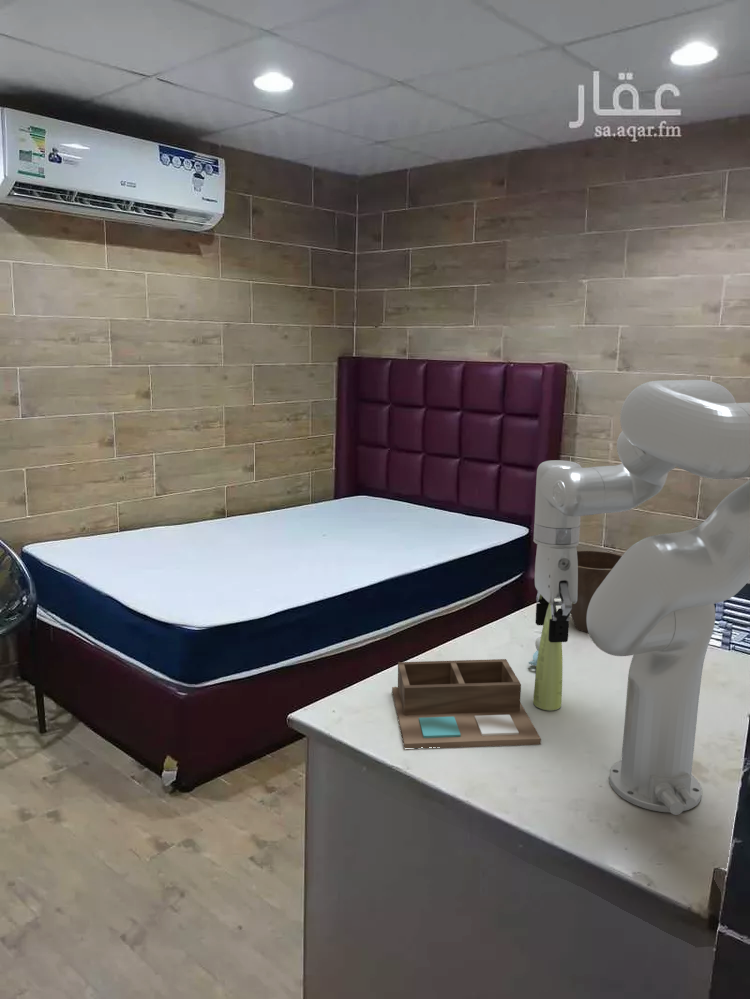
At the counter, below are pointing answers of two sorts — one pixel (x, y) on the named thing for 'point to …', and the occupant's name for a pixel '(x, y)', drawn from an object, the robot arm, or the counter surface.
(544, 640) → the tube
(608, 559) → the plant pot
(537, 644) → the pacifier
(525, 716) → the brown wooden desk organizer
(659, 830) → the counter surface
